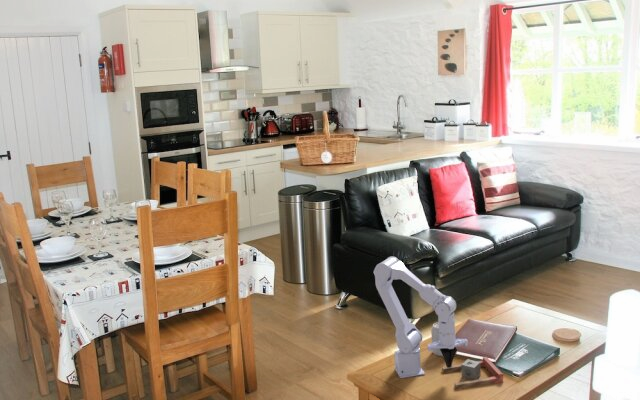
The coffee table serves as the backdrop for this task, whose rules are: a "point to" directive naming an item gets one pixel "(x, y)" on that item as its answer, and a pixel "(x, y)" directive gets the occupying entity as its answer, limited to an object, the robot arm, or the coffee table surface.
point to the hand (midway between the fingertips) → (448, 366)
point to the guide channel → (491, 368)
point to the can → (435, 337)
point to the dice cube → (471, 369)
